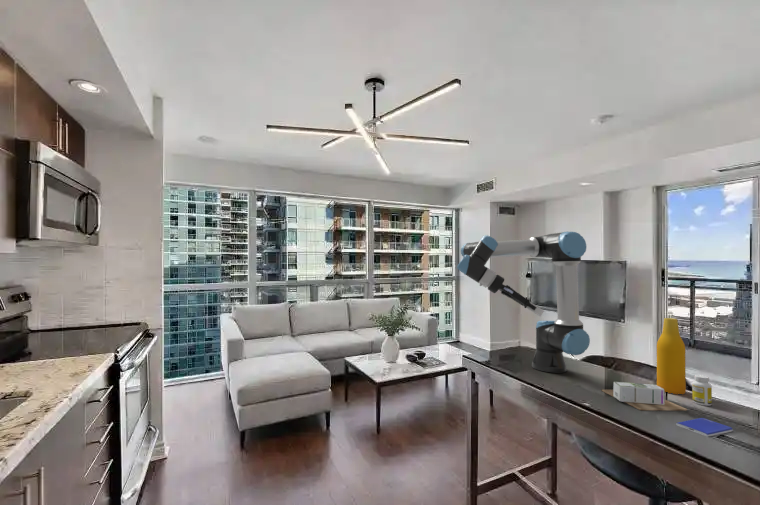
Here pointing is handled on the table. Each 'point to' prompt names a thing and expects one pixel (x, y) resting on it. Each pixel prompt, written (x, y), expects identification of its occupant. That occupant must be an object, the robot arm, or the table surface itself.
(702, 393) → the supplement bottle
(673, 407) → the wooden board
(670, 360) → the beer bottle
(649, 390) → the syrup box
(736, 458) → the table surface
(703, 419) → the hard drive
